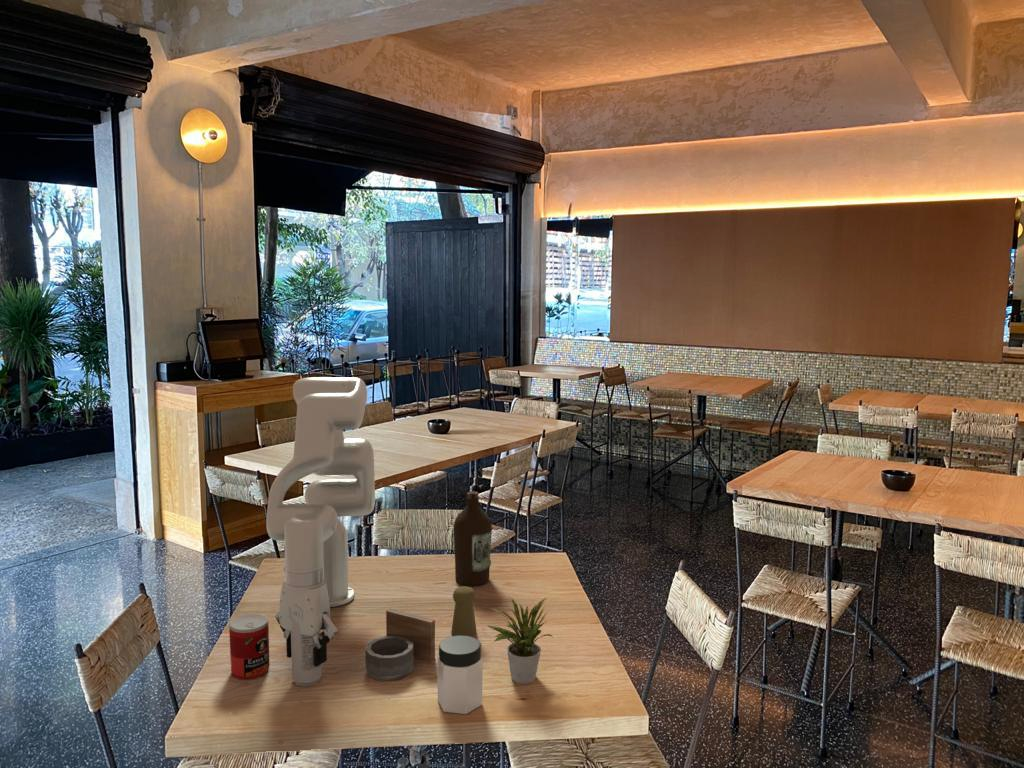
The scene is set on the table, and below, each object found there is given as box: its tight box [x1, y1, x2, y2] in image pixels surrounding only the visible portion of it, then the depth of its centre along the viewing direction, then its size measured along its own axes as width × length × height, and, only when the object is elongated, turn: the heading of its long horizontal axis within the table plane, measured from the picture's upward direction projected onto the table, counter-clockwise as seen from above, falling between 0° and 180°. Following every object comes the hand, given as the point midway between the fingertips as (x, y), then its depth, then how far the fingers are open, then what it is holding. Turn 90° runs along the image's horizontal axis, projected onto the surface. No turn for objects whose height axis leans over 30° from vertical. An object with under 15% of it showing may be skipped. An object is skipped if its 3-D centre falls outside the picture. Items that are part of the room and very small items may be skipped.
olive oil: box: [452, 490, 493, 587], centre depth 207 cm, size 11×11×25 cm
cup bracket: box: [364, 608, 436, 682], centre depth 160 cm, size 13×12×9 cm
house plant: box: [487, 596, 553, 685], centre depth 156 cm, size 14×14×16 cm
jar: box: [437, 635, 484, 715], centre depth 145 cm, size 9×8×12 cm
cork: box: [450, 585, 477, 638], centre depth 175 cm, size 6×6×11 cm
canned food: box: [228, 613, 270, 681], centre depth 157 cm, size 8×8×11 cm
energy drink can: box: [290, 622, 323, 687], centre depth 153 cm, size 6×6×15 cm
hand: (306, 658), depth 153 cm, fingers open, 6 cm apart
